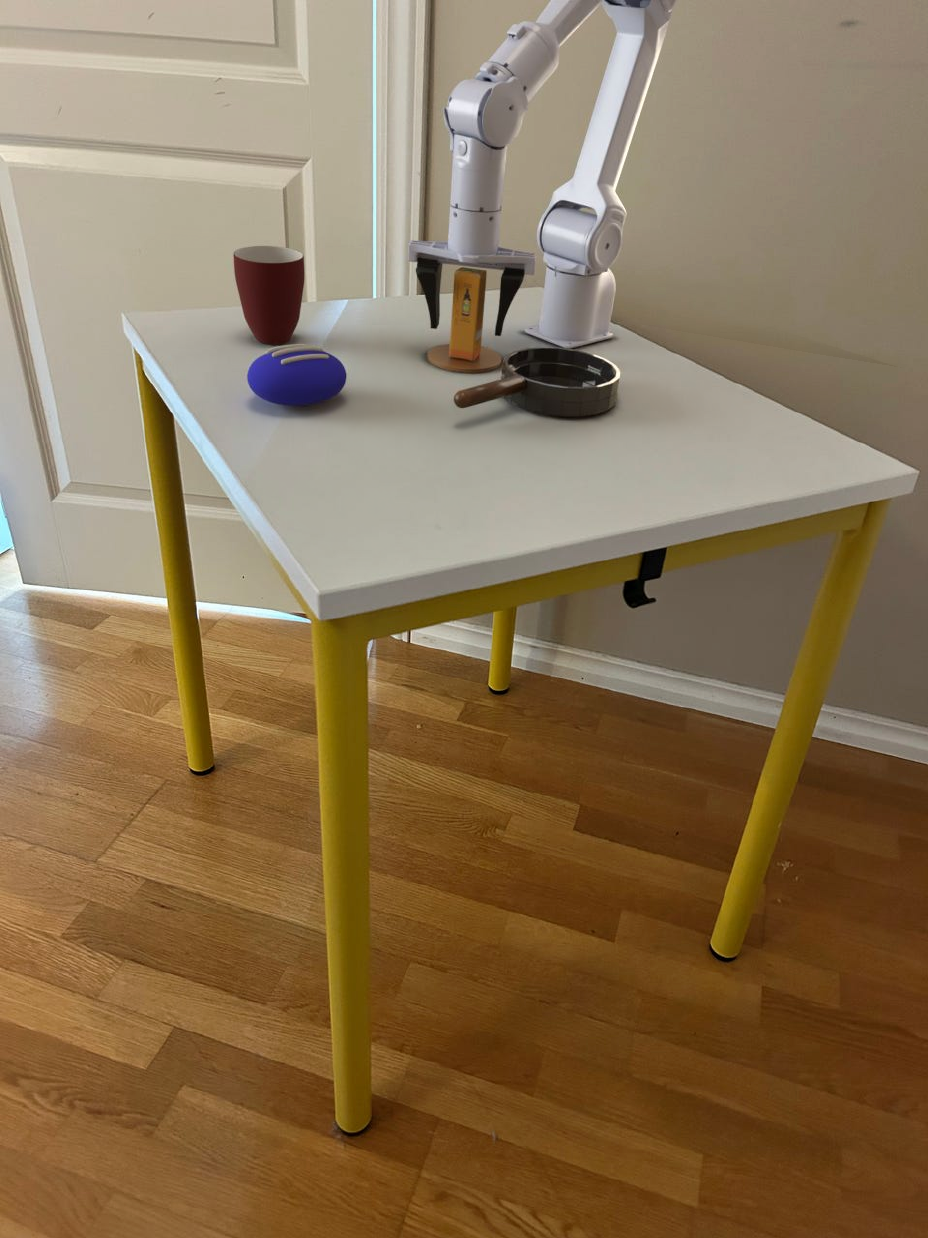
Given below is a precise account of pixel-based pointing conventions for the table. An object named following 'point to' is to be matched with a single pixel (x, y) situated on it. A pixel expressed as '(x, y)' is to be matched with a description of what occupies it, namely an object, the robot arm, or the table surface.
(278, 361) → the decorative object
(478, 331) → the supplement box
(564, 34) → the robot arm
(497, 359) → the disc
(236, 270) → the mug
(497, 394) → the pan handle
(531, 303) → the table surface
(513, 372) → the pan
